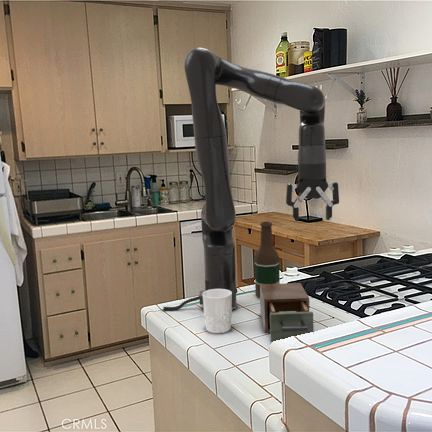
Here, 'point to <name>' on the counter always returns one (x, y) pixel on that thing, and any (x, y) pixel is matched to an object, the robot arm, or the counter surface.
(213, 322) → the white cup
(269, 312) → the drawer
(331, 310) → the counter surface
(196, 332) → the counter surface
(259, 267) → the beer bottle
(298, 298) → the cabinet
